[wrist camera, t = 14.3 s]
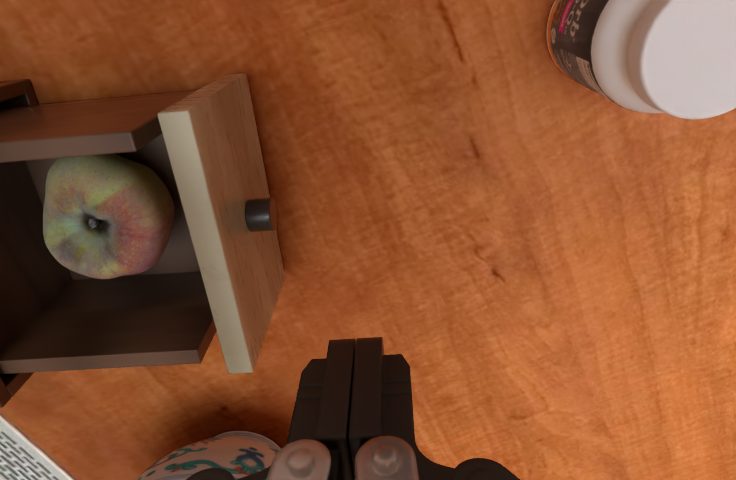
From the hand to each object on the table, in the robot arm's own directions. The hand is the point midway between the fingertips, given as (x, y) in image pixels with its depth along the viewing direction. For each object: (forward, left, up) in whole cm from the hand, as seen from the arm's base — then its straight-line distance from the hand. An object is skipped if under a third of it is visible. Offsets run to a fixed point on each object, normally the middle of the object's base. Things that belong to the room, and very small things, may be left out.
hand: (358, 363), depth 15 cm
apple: (0, -13, -15) cm, 20 cm away
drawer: (0, -12, -16) cm, 20 cm away
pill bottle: (-7, +12, -17) cm, 22 cm away
